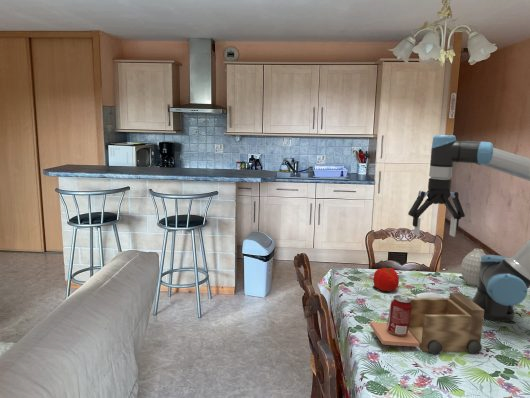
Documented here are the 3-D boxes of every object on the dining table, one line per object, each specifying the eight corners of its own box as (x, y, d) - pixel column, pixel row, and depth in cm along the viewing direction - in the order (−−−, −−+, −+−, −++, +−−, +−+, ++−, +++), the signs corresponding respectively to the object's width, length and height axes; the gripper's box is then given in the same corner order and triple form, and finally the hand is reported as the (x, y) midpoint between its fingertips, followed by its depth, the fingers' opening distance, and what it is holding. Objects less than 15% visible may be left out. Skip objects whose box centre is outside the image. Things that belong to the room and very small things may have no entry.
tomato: (384, 295, 177) (386, 275, 176) (367, 285, 188) (368, 266, 187) (404, 292, 182) (406, 272, 180) (386, 282, 192) (387, 264, 191)
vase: (455, 278, 201) (459, 244, 198) (483, 280, 200) (487, 246, 197) (464, 288, 189) (468, 252, 186) (494, 290, 187) (499, 254, 184)
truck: (454, 328, 149) (458, 291, 147) (482, 353, 132) (487, 312, 130) (402, 328, 148) (406, 291, 146) (424, 354, 131) (428, 312, 128)
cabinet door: (403, 324, 145) (370, 322, 144) (419, 343, 132) (383, 340, 131) (402, 328, 145) (369, 326, 144) (418, 347, 133) (382, 345, 132)
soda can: (408, 339, 134) (414, 304, 133) (387, 334, 136) (392, 300, 134) (405, 329, 141) (411, 296, 139) (385, 326, 142) (390, 293, 140)
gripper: (467, 177, 154) (461, 233, 157) (402, 176, 152) (397, 232, 156) (479, 180, 147) (472, 238, 150) (410, 178, 145) (405, 237, 148)
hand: (434, 235), depth 153 cm, fingers open, 13 cm apart
